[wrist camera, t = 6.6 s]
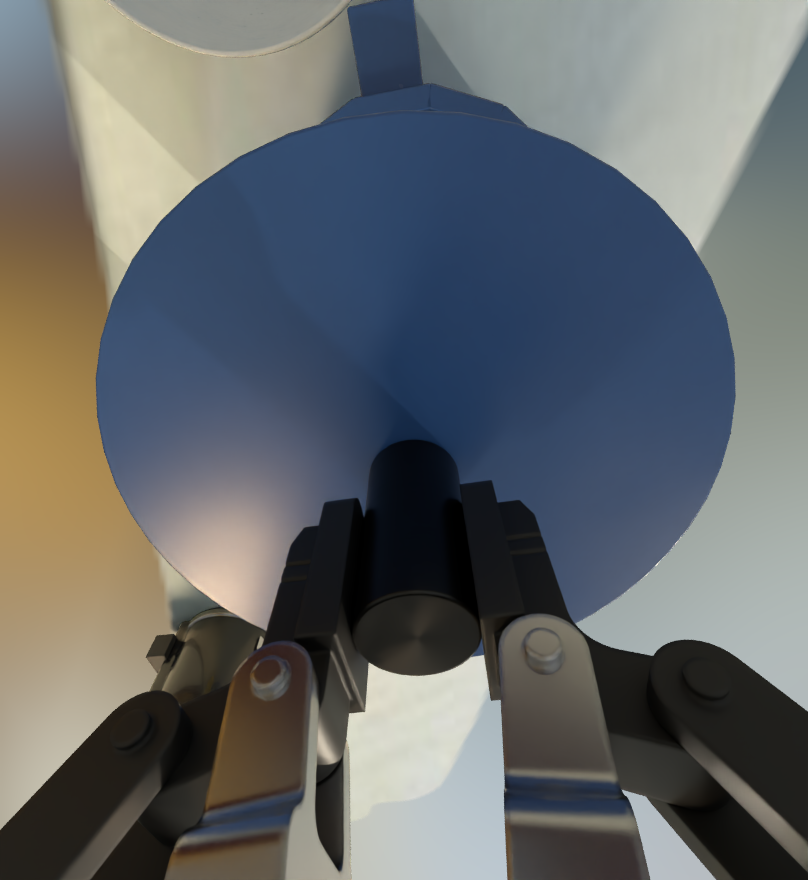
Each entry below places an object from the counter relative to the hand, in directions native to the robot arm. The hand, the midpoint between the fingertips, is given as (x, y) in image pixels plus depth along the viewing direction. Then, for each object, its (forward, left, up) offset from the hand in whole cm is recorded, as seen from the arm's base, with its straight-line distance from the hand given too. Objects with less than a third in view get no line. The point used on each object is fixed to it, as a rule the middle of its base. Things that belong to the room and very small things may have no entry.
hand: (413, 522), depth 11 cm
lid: (0, 0, -2) cm, 2 cm away
